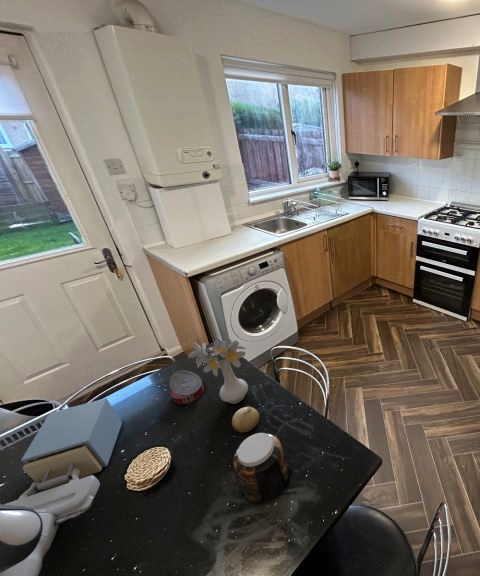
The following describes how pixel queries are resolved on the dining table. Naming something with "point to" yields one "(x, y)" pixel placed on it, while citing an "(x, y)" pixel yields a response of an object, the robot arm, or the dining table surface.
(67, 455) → the beige drawer
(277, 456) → the jar
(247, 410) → the yellow-brown oval lump
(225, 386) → the flower vase
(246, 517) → the dining table surface
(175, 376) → the canned food
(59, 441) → the drawer casing
